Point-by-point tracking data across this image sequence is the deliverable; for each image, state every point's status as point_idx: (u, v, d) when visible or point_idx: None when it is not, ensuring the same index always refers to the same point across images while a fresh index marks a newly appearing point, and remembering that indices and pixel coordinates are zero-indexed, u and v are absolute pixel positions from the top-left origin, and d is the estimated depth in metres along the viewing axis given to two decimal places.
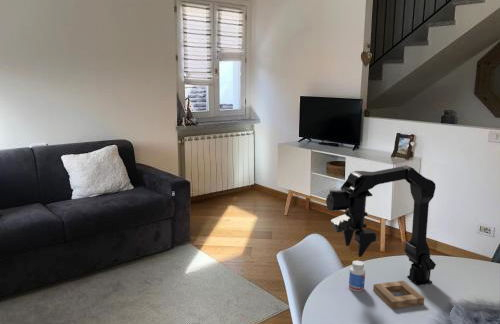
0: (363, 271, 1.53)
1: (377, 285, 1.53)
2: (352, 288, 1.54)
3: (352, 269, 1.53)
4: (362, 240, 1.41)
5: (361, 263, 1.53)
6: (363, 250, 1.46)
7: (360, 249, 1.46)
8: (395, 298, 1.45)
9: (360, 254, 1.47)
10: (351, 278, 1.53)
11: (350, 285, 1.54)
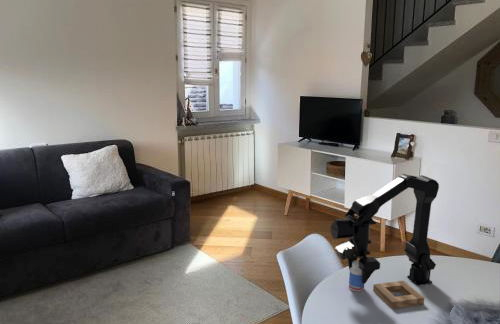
0: None
1: (377, 285, 1.53)
2: (352, 288, 1.54)
3: (352, 269, 1.53)
4: (366, 268, 1.44)
5: None
6: (367, 277, 1.49)
7: (364, 276, 1.49)
8: (395, 298, 1.45)
9: (364, 281, 1.50)
10: (351, 278, 1.53)
11: (350, 285, 1.54)
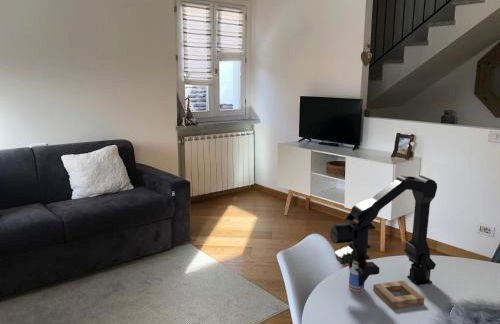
0: None
1: (377, 285, 1.53)
2: (352, 288, 1.54)
3: (352, 269, 1.53)
4: (365, 273, 1.44)
5: None
6: (364, 279, 1.51)
7: (361, 279, 1.51)
8: (395, 298, 1.45)
9: (361, 283, 1.52)
10: (351, 278, 1.53)
11: (350, 285, 1.54)
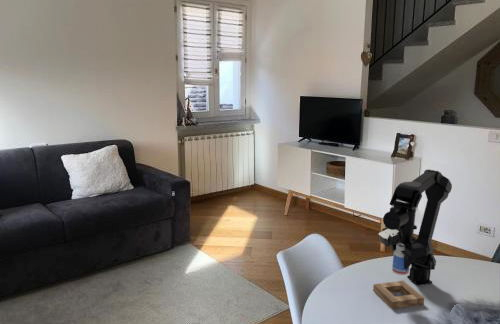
0: None
1: (377, 285, 1.53)
2: (396, 272, 1.46)
3: (396, 252, 1.46)
4: (414, 255, 1.36)
5: None
6: (410, 262, 1.43)
7: (407, 261, 1.43)
8: (395, 298, 1.45)
9: (406, 266, 1.44)
10: (395, 261, 1.46)
11: (394, 268, 1.46)
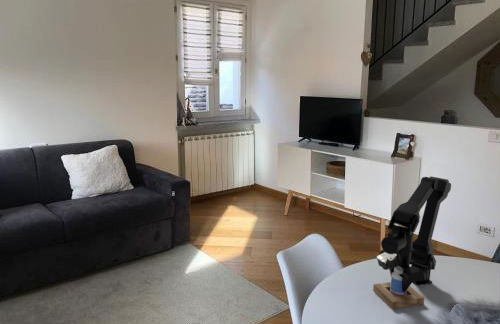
0: None
1: (377, 285, 1.53)
2: (394, 294, 1.48)
3: (394, 274, 1.47)
4: (411, 279, 1.38)
5: None
6: (407, 285, 1.45)
7: (404, 284, 1.45)
8: (395, 298, 1.45)
9: (404, 289, 1.46)
10: (393, 284, 1.47)
11: (392, 291, 1.48)
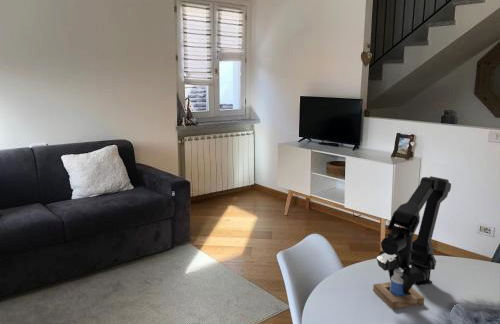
0: None
1: (377, 285, 1.53)
2: None
3: (394, 278, 1.48)
4: (411, 280, 1.38)
5: None
6: (409, 287, 1.44)
7: (406, 286, 1.44)
8: (395, 298, 1.45)
9: (405, 291, 1.45)
10: (393, 287, 1.48)
11: None
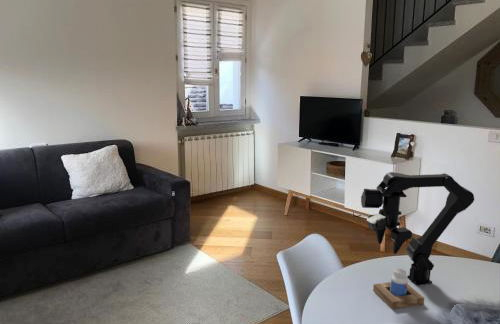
0: (406, 280, 1.47)
1: (377, 285, 1.53)
2: None
3: (394, 278, 1.48)
4: (399, 238, 1.48)
5: (403, 271, 1.48)
6: (398, 247, 1.54)
7: (396, 246, 1.53)
8: (395, 298, 1.45)
9: (395, 251, 1.55)
10: (393, 287, 1.48)
11: None
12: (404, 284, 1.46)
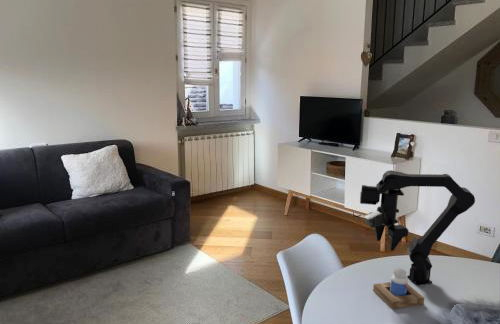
0: (406, 280, 1.47)
1: (377, 285, 1.53)
2: None
3: (394, 278, 1.48)
4: (395, 235, 1.51)
5: (403, 271, 1.48)
6: (395, 244, 1.56)
7: (392, 243, 1.56)
8: (395, 298, 1.45)
9: (392, 248, 1.57)
10: (393, 287, 1.48)
11: None
12: (404, 284, 1.46)
